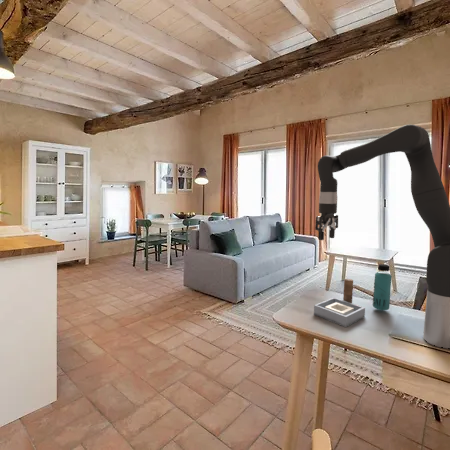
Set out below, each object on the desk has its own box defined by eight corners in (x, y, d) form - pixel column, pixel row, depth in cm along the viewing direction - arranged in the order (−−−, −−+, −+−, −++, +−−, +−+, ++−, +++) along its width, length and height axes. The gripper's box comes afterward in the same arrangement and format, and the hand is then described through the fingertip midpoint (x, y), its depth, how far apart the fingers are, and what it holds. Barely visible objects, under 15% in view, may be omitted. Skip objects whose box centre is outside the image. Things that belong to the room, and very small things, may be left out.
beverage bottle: (385, 307, 127) (388, 262, 125) (392, 314, 121) (396, 267, 118) (369, 307, 128) (372, 262, 125) (375, 313, 121) (379, 266, 119)
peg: (353, 306, 128) (354, 280, 127) (348, 308, 126) (350, 281, 125) (345, 304, 131) (347, 278, 130) (341, 306, 129) (342, 279, 128)
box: (364, 317, 118) (365, 307, 118) (345, 327, 110) (346, 317, 109) (333, 306, 129) (333, 297, 129) (313, 314, 121) (314, 305, 120)
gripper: (326, 203, 121) (325, 242, 123) (344, 202, 130) (342, 238, 132) (311, 202, 127) (309, 239, 129) (329, 201, 136) (327, 236, 138)
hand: (326, 238), depth 131 cm, fingers open, 8 cm apart
